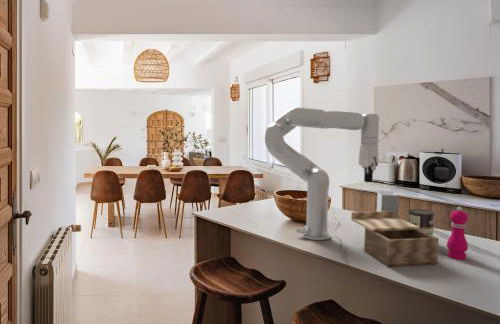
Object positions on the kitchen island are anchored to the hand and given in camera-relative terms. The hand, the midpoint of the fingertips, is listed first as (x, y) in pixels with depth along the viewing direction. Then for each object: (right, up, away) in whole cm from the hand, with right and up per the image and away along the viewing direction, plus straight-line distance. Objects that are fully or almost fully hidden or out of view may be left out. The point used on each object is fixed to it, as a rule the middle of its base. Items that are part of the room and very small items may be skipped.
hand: (368, 181), depth 171 cm
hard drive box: (+11, -26, +10) cm, 30 cm away
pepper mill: (+28, -29, -23) cm, 46 cm away
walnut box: (+4, -28, -24) cm, 37 cm away
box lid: (+2, -17, -13) cm, 22 cm away
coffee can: (+21, -27, -5) cm, 35 cm away
